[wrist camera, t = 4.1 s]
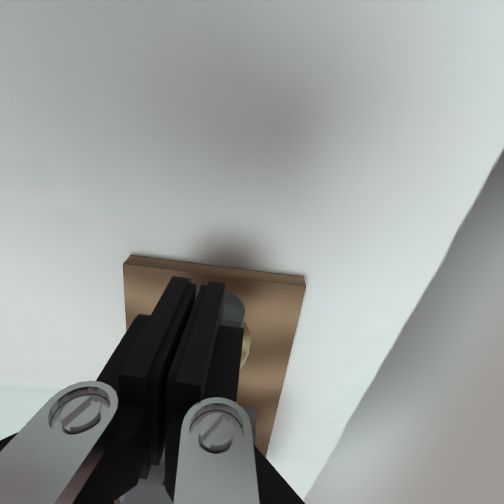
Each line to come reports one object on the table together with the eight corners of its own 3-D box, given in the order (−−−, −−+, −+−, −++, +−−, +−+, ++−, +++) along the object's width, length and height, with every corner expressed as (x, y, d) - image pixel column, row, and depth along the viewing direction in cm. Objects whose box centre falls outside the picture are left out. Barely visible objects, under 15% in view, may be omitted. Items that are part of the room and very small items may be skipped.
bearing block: (130, 255, 25) (31, 373, 14) (303, 276, 26) (335, 406, 15) (138, 451, 36) (85, 603, 25) (260, 463, 37) (260, 618, 26)
